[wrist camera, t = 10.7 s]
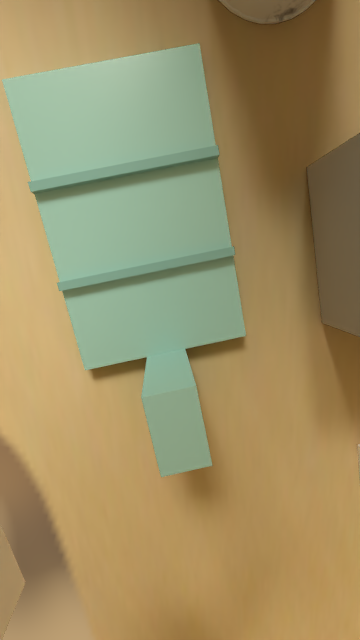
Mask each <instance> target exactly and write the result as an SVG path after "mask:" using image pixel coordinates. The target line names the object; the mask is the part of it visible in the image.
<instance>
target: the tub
mask: <svg viewBox="0 0 360 640" xmlns="http://www.w3.org/2000/svg"><path fill="white" fill-rule="evenodd" d="M307 177H308V187H309V197H310V207H311V217H312V227H313V238H314V248H315V258H316V268H317V278H318V288H319V299H320V309H321V319H322V323H324V324H326V325H329V326H332V327H334V328H337V329H340V330H342V331H345V332H348V333H350V334H353V335H356V336H358V337H360V133H359V134H357V135H356V136H354V137H353V138H351V139H350V140H348V141H347V142H345V143H343V144H342V145H340V146H339V147H337V148H336V149H334V150H333V151H331V152H330V153H328V154H326V155H325V156H323V157H322V158H320V159H319V160H317V161H316V162H314V163H312V164H311V165H309V166H308V167H307Z"/></svg>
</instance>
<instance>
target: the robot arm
mask: <svg viewBox="0 0 360 640" xmlns="http://www.w3.org/2000/svg"><path fill="white" fill-rule="evenodd" d="M357 448H358V464H359V479H360V444H358V445H357ZM24 585H25V580H24V578H23V576H22V574H21V571H20V569H19V566H18V564H17V562H16V559H15V557H14V554H13V552H12V550H11V547H10V545H9V543H8V540H7V538H6V536H5V533H4V531H3V529H2V526H1V525H0V640H2V638H3V636H4V634H5V631H6V629H7V626H8V624H9V621H10V619H11V616H12V614H13V612H14V609H15V607H16V604H17V602H18V599H19V597H20V595H21V592H22V590H23V587H24Z"/></svg>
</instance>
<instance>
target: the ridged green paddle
mask: <svg viewBox="0 0 360 640" xmlns="http://www.w3.org/2000/svg"><path fill="white" fill-rule="evenodd" d="M2 81H3V85H4V88H5V92H6V95H7V99H8V102H9V106H10V109H11V113H12V116H13V120H14V123H15V127H16V130H17V134H18V137H19V141H20V144H21V148H22V151H23V155H24V158H25V162H26V165H27V169H28V172H29V176H30V179H31V182H28V184H29V187H30V191H31V192H32V193H34V194H35V197H36V200H37V204H38V207H39V211H40V214H41V218H42V221H43V225H44V228H45V232H46V235H47V239H48V242H49V246H50V249H51V253H52V256H53V260H54V263H55V267H56V270H57V274H58V277H59V281H60V282H58V283H57V285H58V288H59V291H63V295H64V298H65V302H66V305H67V309H68V312H69V316H70V319H71V323H72V326H73V330H74V333H75V337H76V340H77V344H78V347H79V351H80V354H81V358H82V361H83V365H84V368H85V370H89V369H94V368H98V367H103V366H108V365H112V364H117V363H122V362H126V361H131V360H136V359H140V358H145V357H147V360H146V368H145V375H144V382H143V389H142V396H141V398H142V402H143V406H144V410H145V414H146V419H147V423H148V427H149V431H150V435H151V439H152V443H153V447H154V451H155V455H156V459H157V463H158V467H159V471H160V475H161V477H164V476H169V475H173V474H178V473H182V472H186V471H191V470H195V469H200V468H204V467H208V466H212V461H211V456H210V451H209V446H208V441H207V436H206V431H205V426H204V421H203V416H202V412H201V407H200V402H199V397H198V392H197V387H196V383H195V380H194V376H193V373H192V370H191V366H190V363H189V360H188V356H187V353H186V350H185V349H187V348H192V347H196V346H201V345H206V344H210V343H215V342H220V341H224V340H229V339H234V338H238V337H243V336H246V333H245V326H244V320H243V314H242V308H241V301H240V295H239V289H238V282H237V276H236V270H235V264H234V257H233V255H235V250H234V247H232V245H231V238H230V232H229V226H228V220H227V213H226V207H225V201H224V194H223V188H222V182H221V175H220V169H219V163H218V157H219V148H218V145H216V144H215V138H214V131H213V125H212V119H211V113H210V106H209V100H208V94H207V87H206V81H205V75H204V69H203V62H202V56H201V50H200V43H198V44H193V45H187V46H182V47H176V48H171V49H165V50H160V51H155V52H149V53H144V54H138V55H133V56H127V57H122V58H117V59H111V60H106V61H100V62H95V63H90V64H84V65H79V66H73V67H68V68H62V69H57V70H52V71H46V72H41V73H35V74H30V75H24V76H19V77H14V78H8V79H3V80H2Z"/></svg>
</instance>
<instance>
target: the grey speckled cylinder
mask: <svg viewBox="0 0 360 640" xmlns="http://www.w3.org/2000/svg"><path fill="white" fill-rule="evenodd" d="M218 1H219V2H221V3H222V4H223V5H224V6H225V7H226V8H227V9H228V10H229V11H230V12H232V13H234V14H235V15H237V16H239V17H241V18H243V19H244V20H247V21H251V22H255V23H259V24H276V23H280V22H283V21H286V20H290V19H292V18H294V17H295V16H297V15H299V14H300V13H302V12H304V11H305V10H307V9H308V8H309V7H310V6H311V5H312V4H313V3H314V2H315V1H316V0H218Z"/></svg>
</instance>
